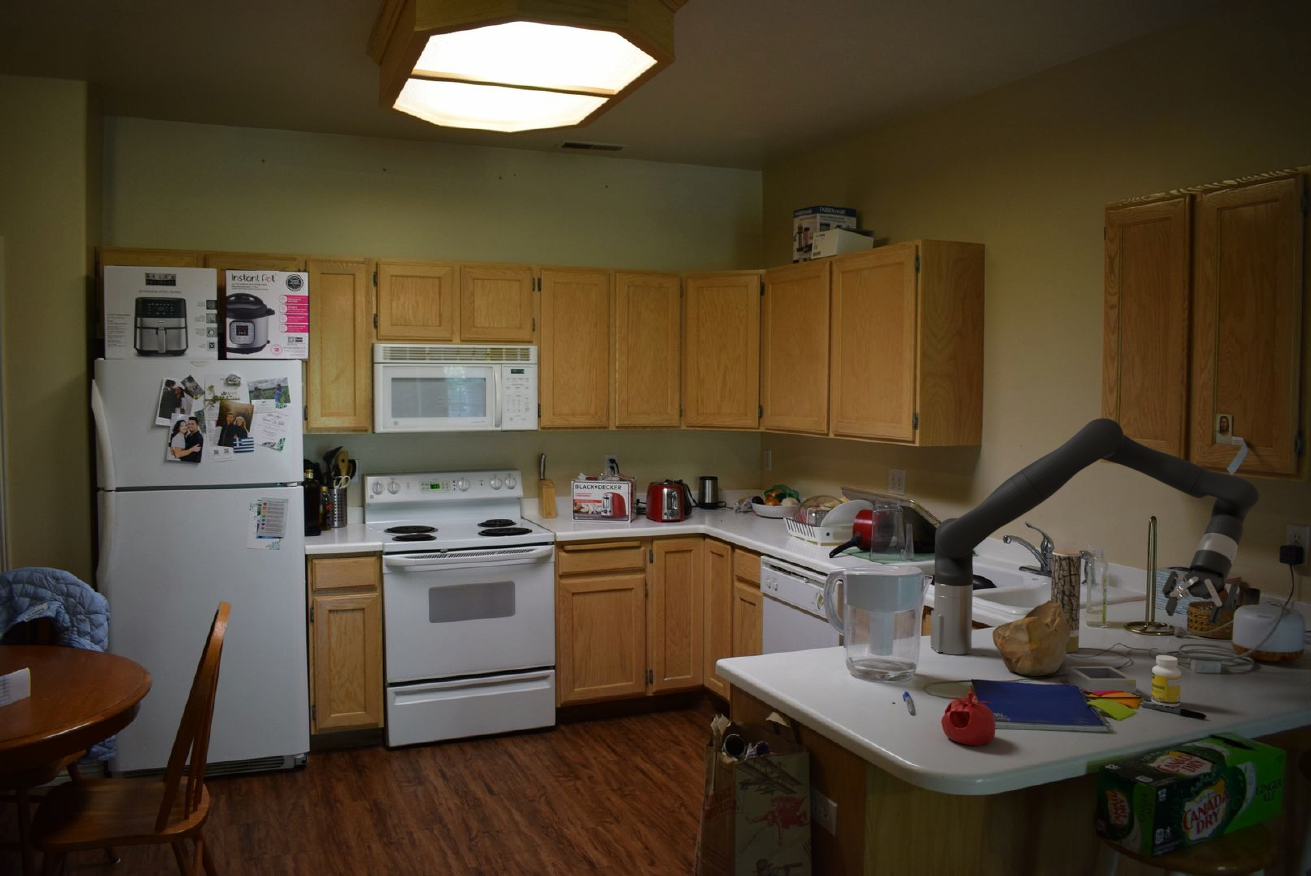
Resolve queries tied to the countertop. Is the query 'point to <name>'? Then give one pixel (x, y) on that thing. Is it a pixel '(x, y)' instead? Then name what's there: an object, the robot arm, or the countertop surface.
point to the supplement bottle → (1166, 681)
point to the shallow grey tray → (1099, 679)
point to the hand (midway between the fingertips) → (1190, 619)
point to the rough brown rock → (1034, 641)
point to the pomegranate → (969, 721)
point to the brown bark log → (1067, 590)
